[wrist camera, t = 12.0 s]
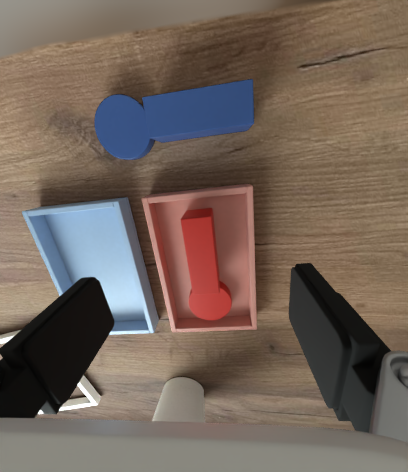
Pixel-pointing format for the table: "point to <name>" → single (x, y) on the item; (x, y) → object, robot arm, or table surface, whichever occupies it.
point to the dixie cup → (181, 401)
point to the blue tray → (97, 256)
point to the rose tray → (228, 251)
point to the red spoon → (204, 266)
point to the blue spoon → (173, 117)
